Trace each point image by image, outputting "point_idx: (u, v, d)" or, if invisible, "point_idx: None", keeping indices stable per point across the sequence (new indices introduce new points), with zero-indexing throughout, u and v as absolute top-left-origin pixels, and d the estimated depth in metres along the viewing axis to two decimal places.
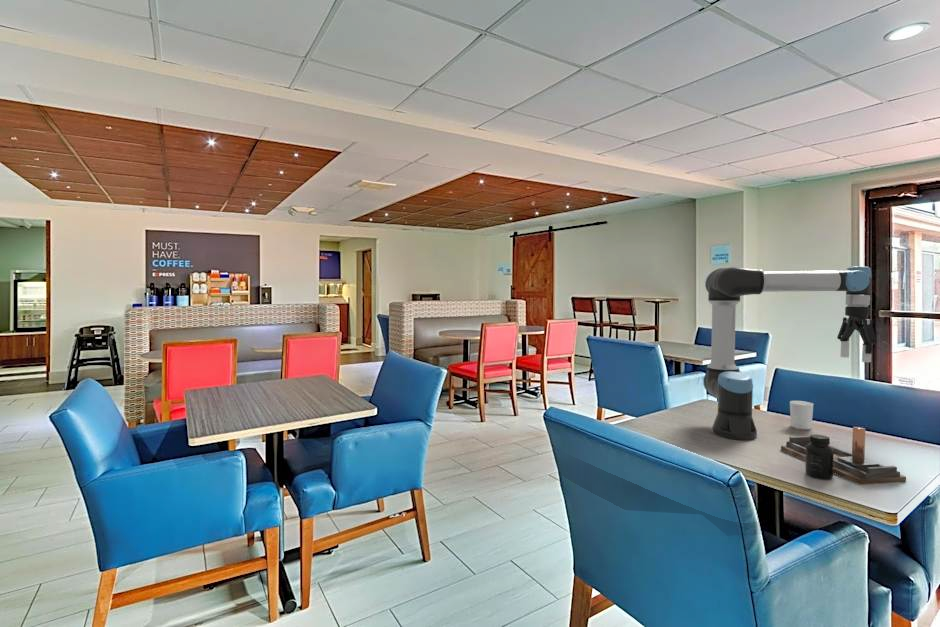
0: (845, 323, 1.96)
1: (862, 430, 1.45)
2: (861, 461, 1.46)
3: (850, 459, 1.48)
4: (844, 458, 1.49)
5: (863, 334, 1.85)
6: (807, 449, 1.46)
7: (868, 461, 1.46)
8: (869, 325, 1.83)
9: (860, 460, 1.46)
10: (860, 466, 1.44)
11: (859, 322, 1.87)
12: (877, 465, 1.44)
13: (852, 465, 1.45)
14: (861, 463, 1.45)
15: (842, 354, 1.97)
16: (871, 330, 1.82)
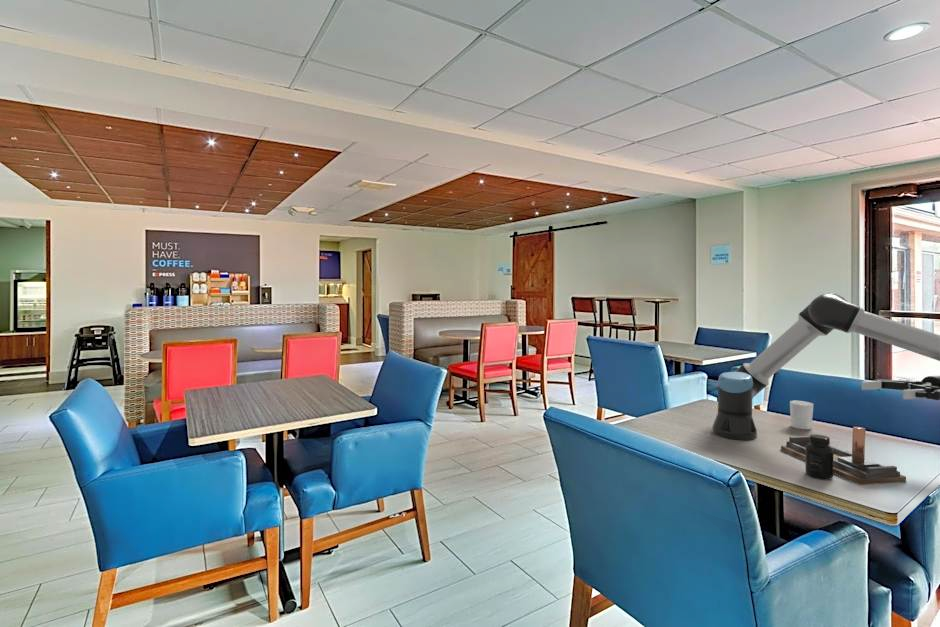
0: None
1: (862, 430, 1.45)
2: (861, 461, 1.46)
3: (850, 459, 1.48)
4: (844, 458, 1.49)
5: None
6: (807, 449, 1.46)
7: (868, 461, 1.46)
8: None
9: (860, 460, 1.46)
10: (860, 466, 1.44)
11: (935, 387, 1.51)
12: (877, 465, 1.44)
13: (852, 465, 1.45)
14: (861, 463, 1.45)
15: (866, 382, 1.59)
16: None
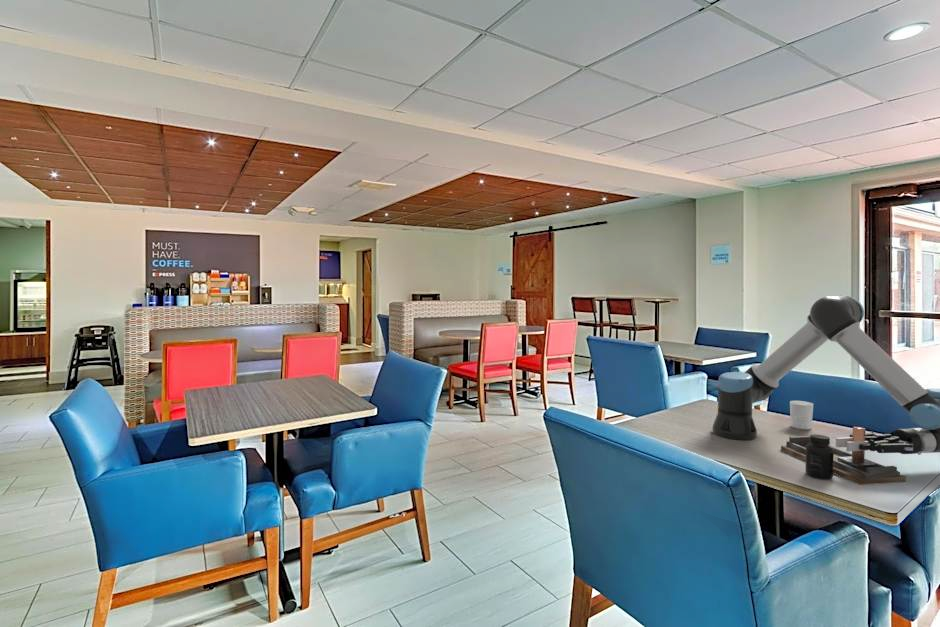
0: (872, 435, 1.53)
1: (862, 430, 1.45)
2: (861, 461, 1.46)
3: (850, 459, 1.48)
4: (844, 458, 1.49)
5: (883, 443, 1.45)
6: (807, 449, 1.46)
7: (868, 461, 1.46)
8: (903, 449, 1.42)
9: (860, 460, 1.46)
10: (860, 466, 1.44)
11: (902, 441, 1.45)
12: (877, 465, 1.44)
13: (852, 465, 1.45)
14: (861, 463, 1.45)
15: (841, 439, 1.48)
16: (896, 450, 1.42)
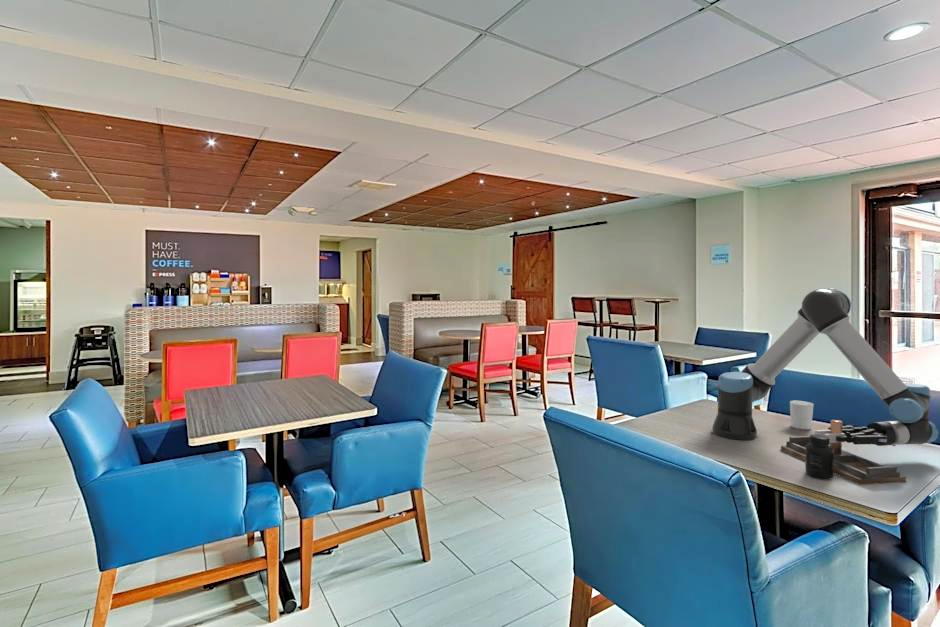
0: (849, 428, 1.61)
1: (839, 423, 1.53)
2: (838, 452, 1.54)
3: None
4: None
5: (859, 435, 1.53)
6: (807, 449, 1.46)
7: (845, 452, 1.54)
8: (877, 441, 1.50)
9: (837, 451, 1.54)
10: (837, 457, 1.51)
11: (877, 434, 1.53)
12: (853, 456, 1.52)
13: None
14: (838, 454, 1.53)
15: (819, 431, 1.56)
16: (871, 441, 1.50)
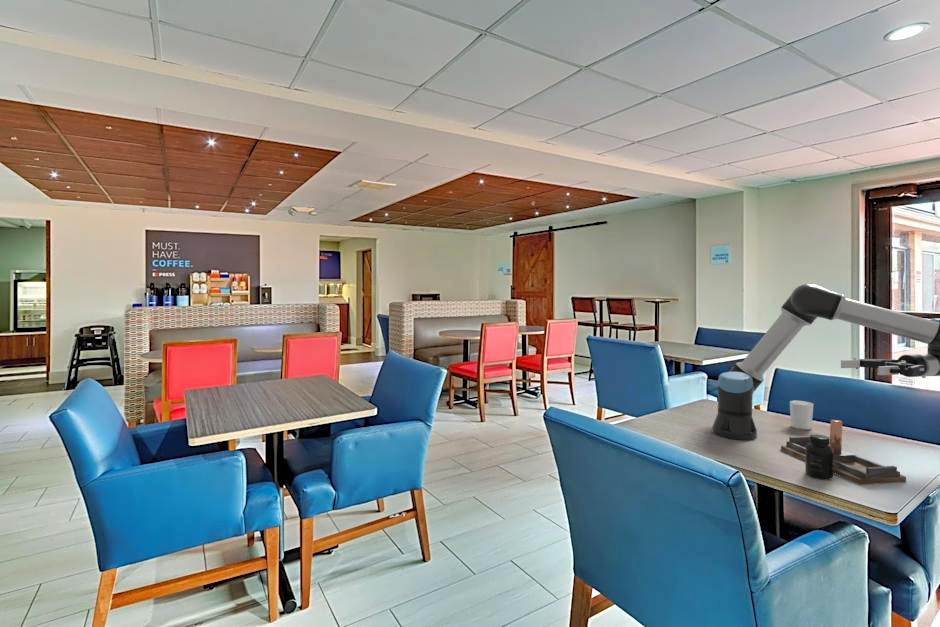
0: (880, 361, 1.68)
1: (839, 423, 1.53)
2: (838, 452, 1.54)
3: None
4: None
5: (905, 366, 1.56)
6: (807, 449, 1.46)
7: (845, 452, 1.54)
8: (919, 370, 1.55)
9: (837, 451, 1.54)
10: (837, 457, 1.51)
11: (910, 364, 1.59)
12: (853, 456, 1.52)
13: None
14: (838, 454, 1.53)
15: (845, 361, 1.67)
16: (917, 371, 1.54)
